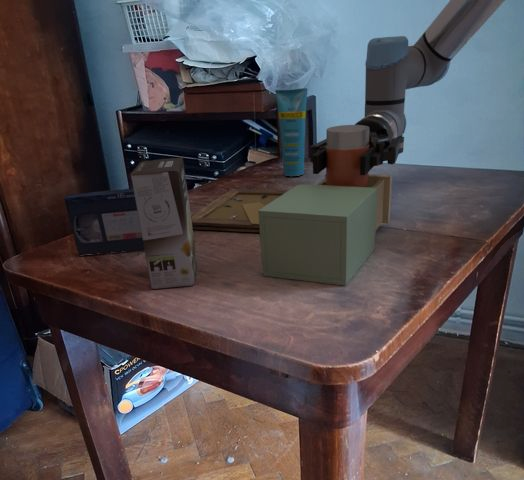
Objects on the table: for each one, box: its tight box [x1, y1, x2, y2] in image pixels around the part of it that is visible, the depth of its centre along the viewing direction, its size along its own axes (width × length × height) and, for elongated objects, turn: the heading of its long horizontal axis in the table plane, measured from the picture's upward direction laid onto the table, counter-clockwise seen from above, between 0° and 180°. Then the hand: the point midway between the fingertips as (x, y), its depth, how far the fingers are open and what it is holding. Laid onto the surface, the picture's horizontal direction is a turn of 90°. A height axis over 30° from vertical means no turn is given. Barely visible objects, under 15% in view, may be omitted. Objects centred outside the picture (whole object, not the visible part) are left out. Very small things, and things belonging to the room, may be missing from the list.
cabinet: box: [258, 183, 377, 287], centre depth 78 cm, size 15×13×10 cm
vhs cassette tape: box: [63, 187, 145, 256], centre depth 89 cm, size 18×3×10 cm, turn 95°
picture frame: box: [191, 188, 290, 233], centre depth 105 cm, size 19×2×24 cm
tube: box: [274, 87, 308, 177], centre depth 126 cm, size 7×5×19 cm, turn 81°
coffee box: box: [130, 157, 198, 290], centre depth 76 cm, size 9×6×16 cm
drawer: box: [316, 173, 393, 231], centre depth 89 cm, size 18×11×8 cm, turn 155°
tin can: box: [325, 124, 369, 187], centre depth 84 cm, size 7×7×10 cm
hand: (338, 165), depth 80 cm, fingers closed on tin can, 7 cm apart
